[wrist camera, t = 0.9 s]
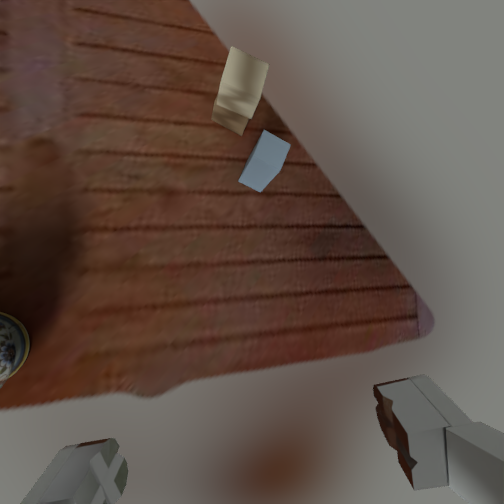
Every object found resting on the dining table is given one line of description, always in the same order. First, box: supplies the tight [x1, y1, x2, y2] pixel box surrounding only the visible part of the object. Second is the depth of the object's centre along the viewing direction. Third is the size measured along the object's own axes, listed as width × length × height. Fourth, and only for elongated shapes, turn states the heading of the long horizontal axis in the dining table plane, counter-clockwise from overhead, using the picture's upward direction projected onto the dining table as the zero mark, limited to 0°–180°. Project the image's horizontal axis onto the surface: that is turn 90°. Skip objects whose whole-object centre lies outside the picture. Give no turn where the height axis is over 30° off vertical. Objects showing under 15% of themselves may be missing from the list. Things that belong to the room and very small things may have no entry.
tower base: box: [211, 95, 249, 136], centre depth 44 cm, size 6×6×5 cm
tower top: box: [217, 47, 269, 119], centre depth 39 cm, size 6×6×5 cm
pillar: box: [239, 130, 291, 192], centre depth 42 cm, size 4×4×10 cm
